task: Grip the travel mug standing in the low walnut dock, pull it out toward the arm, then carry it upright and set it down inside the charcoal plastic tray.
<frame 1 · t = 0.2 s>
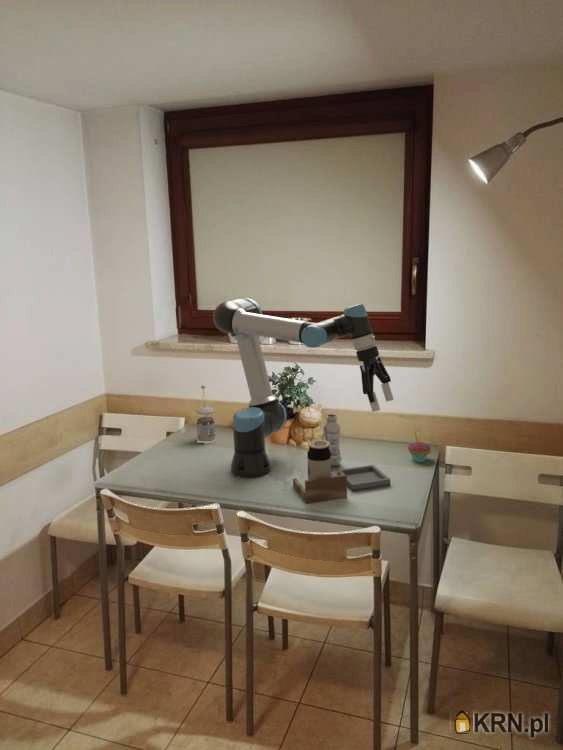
hand: (383, 405, 216), 28 cm above the table, tool tilted 20°, fingers open, 13 cm apart
metal bottle: (332, 465, 237), on the table
charcoal tray: (363, 480, 221), on the table
cupcake: (419, 460, 239), on the table
travel mug: (319, 493, 213), resting in walnut dock
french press: (207, 440, 270), on the table
walnut dock: (319, 492, 213), on the table
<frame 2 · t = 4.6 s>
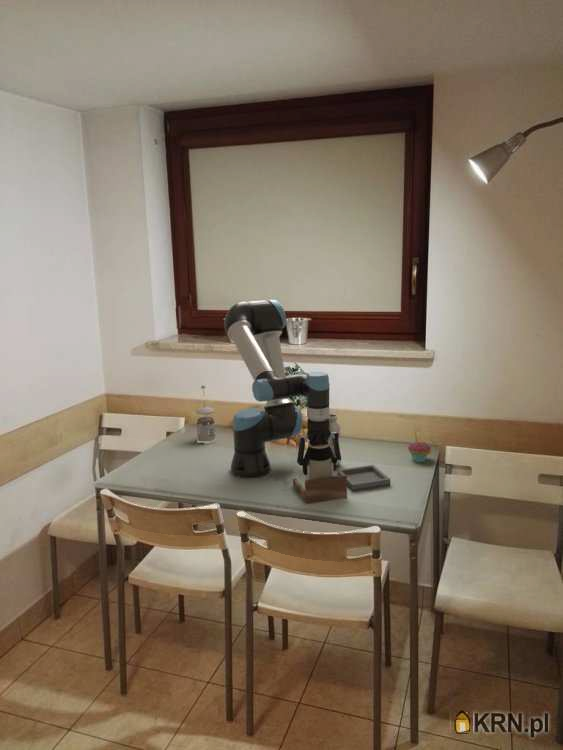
hand: (319, 481, 212), 4 cm above the table, tool pointing down, fingers closed on travel mug, 8 cm apart
travel mug: (319, 493, 213), resting in walnut dock, touching gripper
everything else where it was.
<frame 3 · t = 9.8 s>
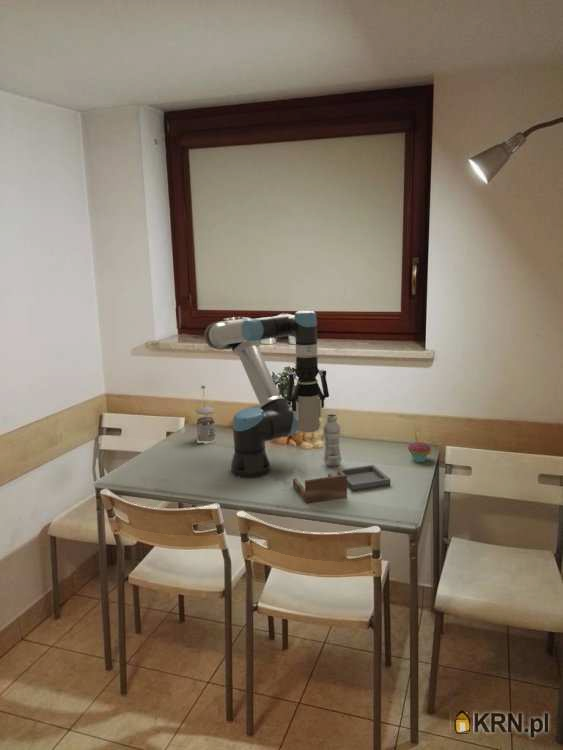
hand: (308, 417, 219), 23 cm above the table, tool pointing down, fingers closed on travel mug, 8 cm apart
travel mug: (308, 429, 220), point 19 cm above the table, touching gripper
everything else where it was.
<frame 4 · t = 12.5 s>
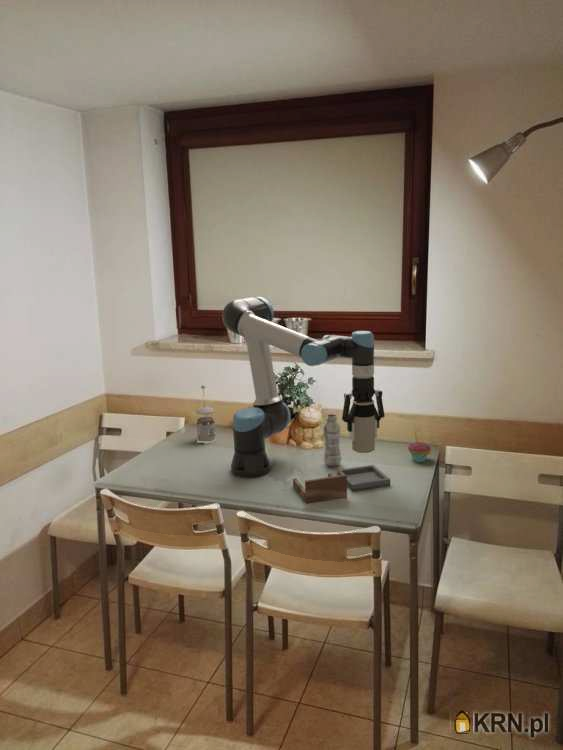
hand: (363, 438, 218), 16 cm above the table, tool pointing down, fingers closed on travel mug, 8 cm apart
travel mug: (363, 450, 219), point 12 cm above the table, touching gripper
everything else where it was.
when the fingers open (7 cm above the table, at t = 15.0 s): travel mug drops 2 cm, resting on charcoal tray.
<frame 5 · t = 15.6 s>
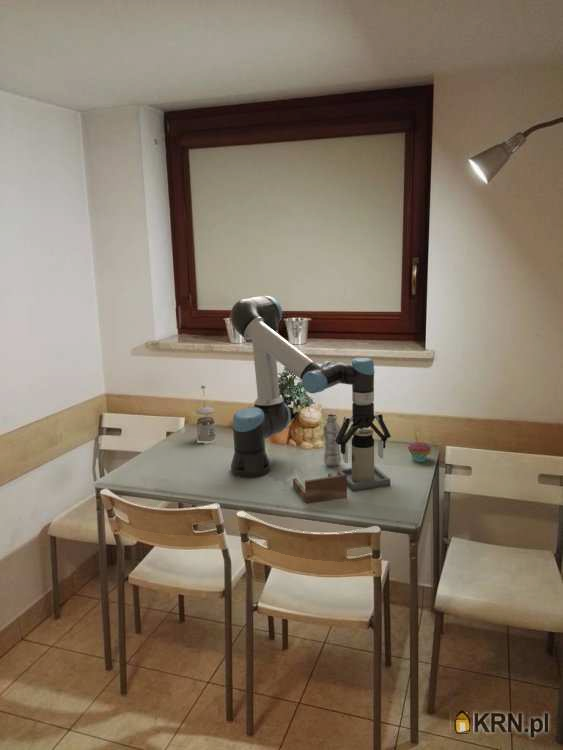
hand: (363, 459, 220), 8 cm above the table, tool pointing down, fingers open, 13 cm apart
travel mug: (362, 479, 221), point 1 cm above the table, touching charcoal tray
everything else where it was.
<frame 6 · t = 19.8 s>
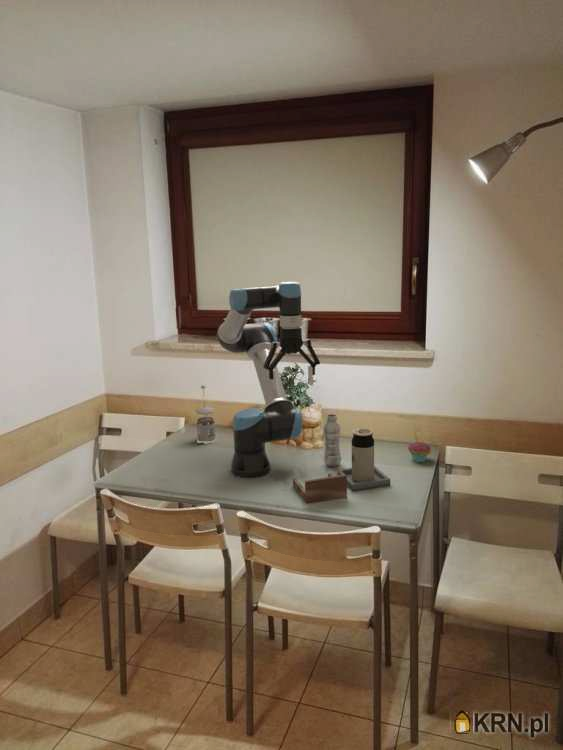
hand: (292, 386, 219), 35 cm above the table, tool pointing down, fingers open, 13 cm apart
nothing on the table moved.
at the end: travel mug 0.1 cm off-centre on the charcoal tray, point 0.6 cm above the charcoal tray's base; travel mug tilted 0°; the gripper is holding nothing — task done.
